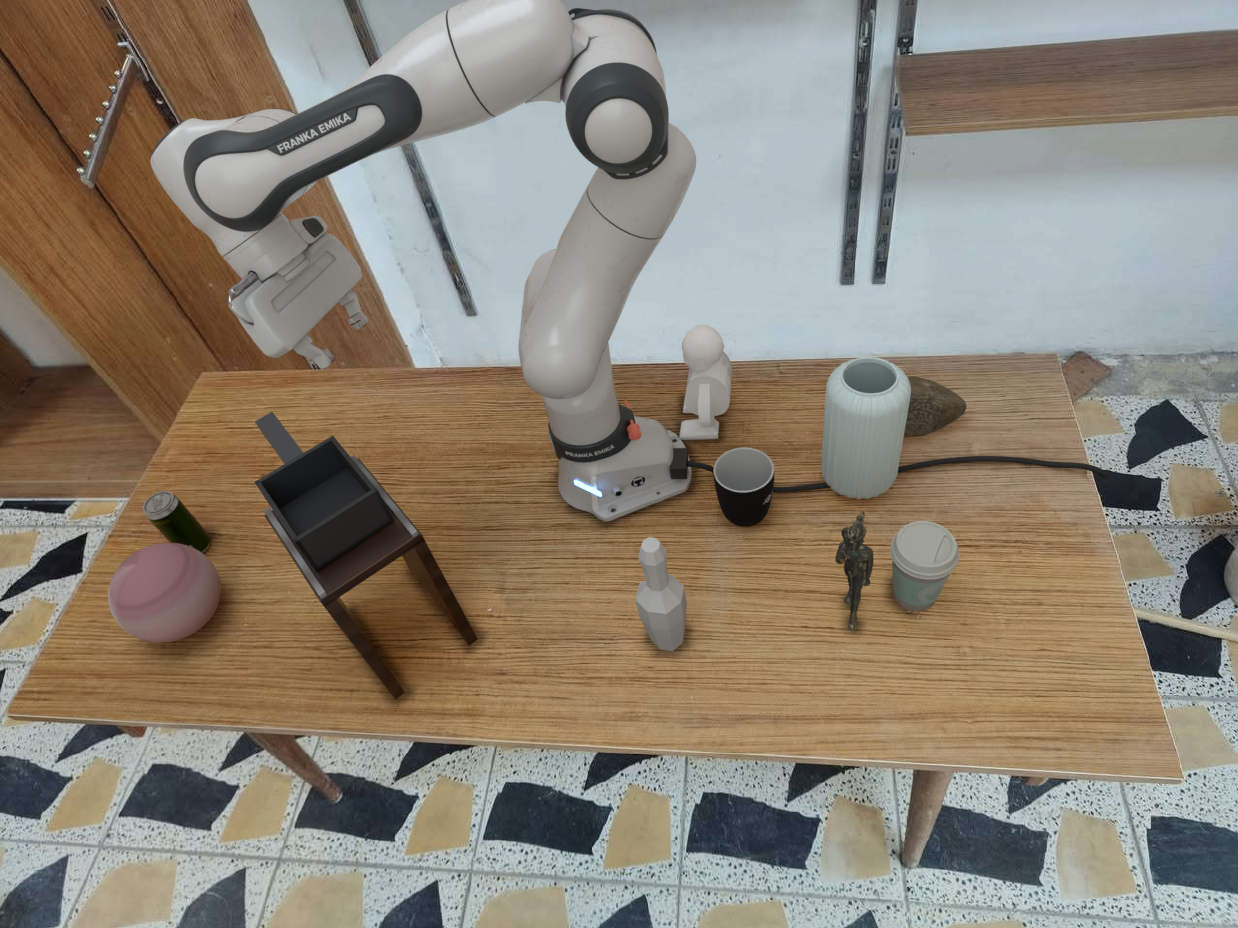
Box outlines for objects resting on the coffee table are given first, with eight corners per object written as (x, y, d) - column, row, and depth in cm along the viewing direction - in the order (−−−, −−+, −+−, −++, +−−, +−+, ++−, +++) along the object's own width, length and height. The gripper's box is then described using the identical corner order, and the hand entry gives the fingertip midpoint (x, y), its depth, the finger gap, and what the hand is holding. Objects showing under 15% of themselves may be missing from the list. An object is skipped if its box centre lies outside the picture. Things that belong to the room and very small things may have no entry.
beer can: (212, 552, 139) (174, 508, 130) (181, 563, 138) (140, 520, 129) (212, 529, 142) (175, 485, 133) (181, 540, 141) (142, 496, 133)
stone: (951, 398, 138) (959, 363, 132) (969, 436, 132) (978, 400, 126) (850, 412, 139) (853, 377, 133) (863, 449, 133) (867, 415, 127)
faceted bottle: (676, 663, 113) (660, 574, 96) (637, 644, 115) (614, 554, 99) (698, 627, 116) (686, 535, 100) (660, 610, 119) (641, 517, 102)
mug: (770, 537, 124) (769, 495, 117) (712, 530, 127) (708, 488, 119) (780, 478, 132) (780, 435, 124) (725, 472, 134) (722, 430, 127)
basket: (394, 520, 102) (377, 489, 98) (316, 571, 98) (294, 542, 94) (317, 425, 116) (299, 395, 112) (246, 467, 113) (224, 437, 108)
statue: (828, 632, 112) (835, 547, 98) (832, 593, 116) (840, 506, 102) (863, 638, 111) (876, 552, 96) (866, 598, 115) (880, 511, 100)
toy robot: (685, 391, 148) (675, 302, 133) (735, 391, 146) (730, 301, 132) (677, 448, 139) (666, 359, 125) (730, 448, 137) (725, 359, 123)
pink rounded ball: (143, 602, 133) (86, 548, 122) (233, 564, 136) (186, 508, 125) (145, 676, 124) (84, 625, 113) (243, 634, 126) (192, 580, 115)
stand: (478, 639, 120) (419, 529, 100) (395, 699, 115) (316, 597, 95) (419, 566, 130) (356, 453, 111) (342, 618, 126) (261, 511, 106)
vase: (812, 498, 128) (818, 396, 112) (829, 446, 135) (836, 342, 118) (888, 514, 124) (905, 410, 108) (901, 459, 131) (919, 354, 114)
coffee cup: (911, 630, 111) (922, 581, 102) (870, 586, 116) (877, 535, 107) (960, 601, 113) (976, 551, 104) (918, 558, 118) (929, 507, 109)
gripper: (237, 285, 90) (323, 381, 96) (326, 210, 105) (396, 297, 112) (204, 306, 93) (289, 398, 100) (295, 231, 108) (365, 315, 115)
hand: (346, 344), depth 106 cm, fingers open, 8 cm apart
